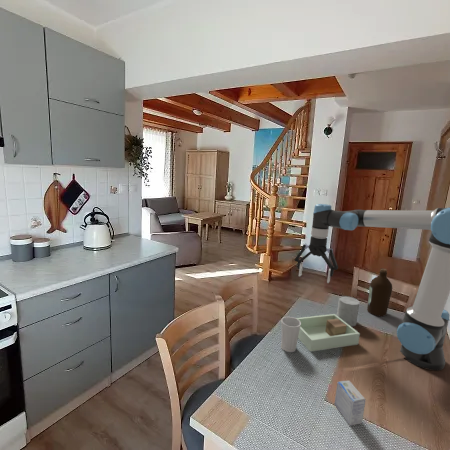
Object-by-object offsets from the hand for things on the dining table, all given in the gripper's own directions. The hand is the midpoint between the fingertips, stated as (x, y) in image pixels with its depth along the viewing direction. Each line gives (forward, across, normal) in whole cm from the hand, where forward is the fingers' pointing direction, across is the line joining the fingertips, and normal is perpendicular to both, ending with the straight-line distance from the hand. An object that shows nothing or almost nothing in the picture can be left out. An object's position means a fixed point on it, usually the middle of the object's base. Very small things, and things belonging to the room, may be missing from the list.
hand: (313, 278), depth 135 cm
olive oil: (+23, -29, -32) cm, 49 cm away
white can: (+23, -16, -10) cm, 30 cm away
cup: (+23, +2, +27) cm, 35 cm away
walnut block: (+22, -14, +6) cm, 26 cm away
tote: (+23, -9, +11) cm, 27 cm away
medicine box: (+23, -25, +49) cm, 59 cm away
